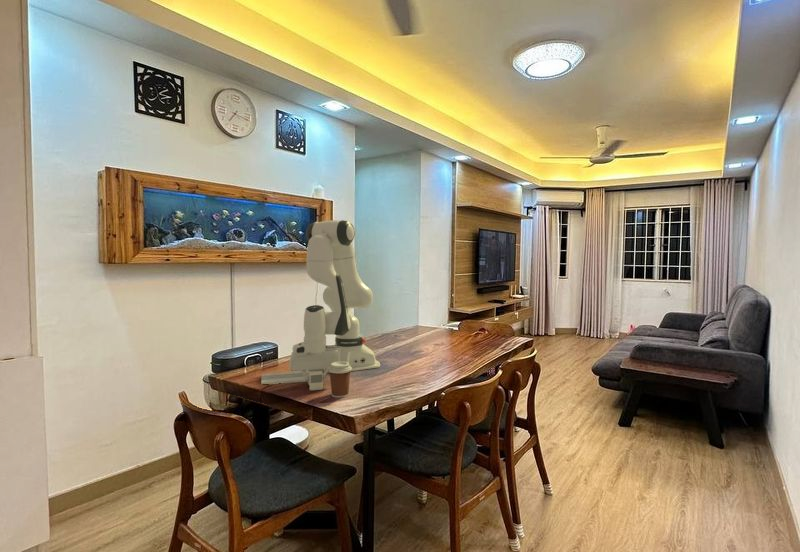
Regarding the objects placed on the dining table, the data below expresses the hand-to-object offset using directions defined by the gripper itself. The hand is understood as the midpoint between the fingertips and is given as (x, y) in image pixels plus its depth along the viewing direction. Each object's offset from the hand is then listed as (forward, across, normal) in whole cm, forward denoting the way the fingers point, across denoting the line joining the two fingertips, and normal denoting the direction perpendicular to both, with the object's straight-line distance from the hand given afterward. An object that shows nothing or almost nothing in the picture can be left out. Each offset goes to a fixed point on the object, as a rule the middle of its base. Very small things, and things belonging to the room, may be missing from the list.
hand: (315, 380), depth 170 cm
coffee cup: (+3, -8, +13) cm, 16 cm away
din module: (+3, 0, 0) cm, 3 cm away
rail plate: (+3, +11, -14) cm, 18 cm away
